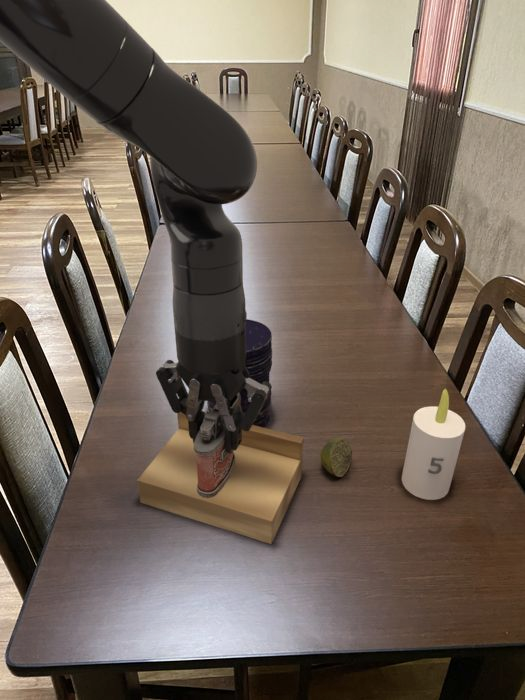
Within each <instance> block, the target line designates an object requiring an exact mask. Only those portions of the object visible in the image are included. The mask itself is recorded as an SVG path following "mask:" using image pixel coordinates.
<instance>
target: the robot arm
mask: <svg viewBox="0 0 525 700" xmlns="http://www.w3.org/2000/svg"><path fill="white" fill-rule="evenodd" d="M0 43H1V44H3V45H4V46H5V47H6V49H8V50H9V51H11V53H13V54H14V55H15V56H16V57H18V58H19V59H20V60H21V61H22V62H23V63H24V64H26V65H27V67H29V69H31V70H32V71H34V72H35V73H36V74H37V75H38V76H39V77H41V78H42V80H44V81H46V82H47V83H48V85H50V86H51V87H52V88H54V89H55V90H56V91H57V92H58V93H60V95H62V96H63V97H64V98H66V99H67V100H68V101H69V102H71V104H73V105H74V106H76V107H77V108H78V109H79V110H80V111H82V112H83V113H84V114H85V115H86V116H88V117H89V118H90V119H92V120H93V121H94V122H95V123H96V124H98V125H99V126H100V127H102V128H103V129H104V130H105V131H107V132H108V133H110V134H112V135H114V136H115V137H116V138H118V139H121V140H122V141H124V142H126V143H129V144H131V145H133V146H135V147H137V148H139V149H140V150H141V151H143V152H144V153H145V154H146V155H148V156H149V163H150V164H149V165H150V166H149V167H150V175H151V180H152V183H153V187H154V192H155V195H156V199H157V203H158V206H159V209H160V213H161V217H162V220H163V223H164V226H165V228H166V232H167V235H168V238H169V243H170V261H171V270H172V271H171V273H172V285H173V286H172V314H173V327H174V335H175V336H174V337H175V348H176V359H177V362H174V360H172V359H168V360H166V361H165V362H164V363H163V364H162V365H161V366H160V367H159V368H158V369H157V370H156V372H155V376H156V378H157V380H158V382H159V384H160V387H161V388H162V391H163V393H164V395H165V398H166V400H167V402H168V404H169V407H170V408H171V410H172V412H173V413H175V414H177V413H180V412H181V413H183V414H185V416H186V418H187V419H188V427H189V436H190V438H191V439H193V443H194V441H195V439H196V436H197V434H198V432H199V430H200V427H201V425H202V424H203V421H204V417H205V413H206V412H205V411H203V409H204V408H205V404H206V402H207V401H211V402H213V403H215V404H217V407H218V410H219V413H220V415H221V416H223V418H224V421H225V425H226V429H225V452H226V453H230V454H232V453H233V451H234V450H235V451H236V450H237V448H238V446H239V445H240V443H241V441H242V430H244V431H249V430H250V428H251V426H252V424H253V423H254V421H255V420H256V419H257V417H258V415H259V413H260V411H261V409H262V407H263V405H264V403H265V401H266V399H267V397H268V394H269V392H270V390H271V391H272V383H270V381H269V382H266V381H265V382H263V383H262V384H260V383H258V382H256V381H255V380H253V379H251V378H250V375H249V372H248V370H247V368H246V365H245V360H246V319H248V318H247V315H248V314H247V309H246V295H245V294H246V293H245V289H244V273H243V272H244V269H243V268H244V267H243V263H244V262H243V241H242V240H243V239H242V235H241V232H240V230H239V228H238V226H236V224H235V223H234V222H233V221H232V220H231V219H230V218H229V217H228V216H227V215H226V213H225V210H224V209H223V205H229V204H231V203H234V202H236V201H238V200H240V199H242V198H243V197H244V196H245V195H246V194H248V192H249V191H250V189H251V188H252V186H253V184H254V182H255V179H256V176H257V171H258V158H257V153H256V149H255V146H254V143H253V141H252V139H251V137H250V136H249V134H248V133H247V131H246V130H245V128H244V127H243V126H242V124H240V122H239V121H237V119H236V118H234V117H233V116H232V115H231V114H230V113H229V112H228V111H227V110H225V109H224V108H223V107H222V106H221V105H219V104H218V103H217V102H216V101H214V99H212V98H211V97H209V96H208V95H207V94H205V93H204V92H203V91H202V90H201V89H199V88H198V87H197V86H195V85H194V84H193V83H191V82H190V81H188V80H186V79H185V78H184V77H182V76H181V75H180V74H178V72H176V71H175V70H173V69H172V68H171V67H170V66H169V65H168V64H167V63H166V62H165V60H164V59H162V57H161V56H160V55H159V53H157V51H155V49H154V48H153V47H152V46H151V45H150V44H149V43H148V42H147V41H146V40H145V38H143V36H141V34H140V33H138V31H136V29H134V28H133V26H132V25H130V23H129V22H128V21H127V20H126V19H125V18H124V17H123V16H122V15H121V14H120V13H119V12H118V11H117V10H116V9H115V8H114V7H113V6H112V5H111V4H110V3H109V2H108V1H107V0H0ZM186 387H187V388H188V390H187V388H186ZM243 388H245V389H246V390H247V397H248V401H249V402H251V403H250V405H249V407H248V409H247V411H246V413H243V412H242V408H241V404H240V403H241V396H240V391H241V390H242V389H243Z"/></svg>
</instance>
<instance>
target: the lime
mask: <svg viewBox="0 0 525 700" xmlns="http://www.w3.org/2000/svg"><path fill="white" fill-rule="evenodd" d="M319 457H320V462H321V464H322V466H323V467H324V469H325V471H327V473H329V474H331V475H332V476H335V477H337V478H342V477H344V475H345V474H346V473H347V472H348V470H349V469H350V466H351V462H352V459H353V450H352V446H351V443H350V442H349V441H348V440H345V439H343V438H341V437H340V438H339V437H336V438H333V439H331V440H328V441H327V442H326V443H325V444H324V445H323V447H322V449H321V451H320V456H319Z"/></svg>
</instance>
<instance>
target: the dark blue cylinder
mask: <svg viewBox="0 0 525 700" xmlns="http://www.w3.org/2000/svg"><path fill="white" fill-rule="evenodd" d="M272 341H273V333H272V330H271V329H270V328H269V327H268V326H267V325H265V324H264V323H263V322H260V321H257V320H253V319H248V318H246V360H245V365H246V368H247V370H248V372H249V375H250V378H251V379H253V380H255V381H256V382H258V383H260V384H262V383H263V382H265V381H266V382H269V383H270V372H271V370H272V366H273V360H272V359H273V347H272V346H273V345H272V344H273V343H272ZM272 394H273V393H272V389H271V390H270V392H269V394H268V397H267V399H266V401H265V403H264V405H263V407H262V409H261V411H260V413H259V415H258V417H257V419H256V420H255V421H254V423H253V424H252V425H255V426H259V427H263V428H267V426H268V425H269V423H270V420H271V408H272ZM240 396H241V403H240V404H241V408H242V412H243V413H246V411H247V409H248V407H249V405H250V403H251V402H249V401H248V397H247V390H246V389H245V388H243V389H242V390H241V391H240ZM206 403H207V405H206V406H207V409H208V412H211V411H212V409H213V408H214V406H215V405H216V404H215V403H213V402H211V401H206Z"/></svg>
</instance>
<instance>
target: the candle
mask: <svg viewBox="0 0 525 700" xmlns="http://www.w3.org/2000/svg"><path fill="white" fill-rule="evenodd" d="M449 407H450V396H449V392H448V389H446V388H444V389H443V390H442V393H441V396H440V400H439V403H438V406H423V407H421V408H419V409H418V410H416V411H415V413H414V414H413V416H412V423H411V429H410V432H409V436H408V437H409V438H408V443H407V448H406V453H405V457H404V458H405V459H404V463H403V468H402V473H401V483H402V485H403V487H404V488H405V490H406V491H407V492H408V493H409V494H411V495H413V496H414V497H417V498H419V499H422V500H427V501H437V500H440V499H443V498H444V497H446V496H447V495H448V494H449V491H450V488H451V485H452V480H453V476H454V473H455V470H456V465H457V462H458V458H459V453H460V450H461V446H462V443H463V440H464V435H465V432H466V423H465V421H464V419H463V418H462V417H461V416H460V415H459V414H457V413H456V412H455V411H453V410H450V409H449Z"/></svg>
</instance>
